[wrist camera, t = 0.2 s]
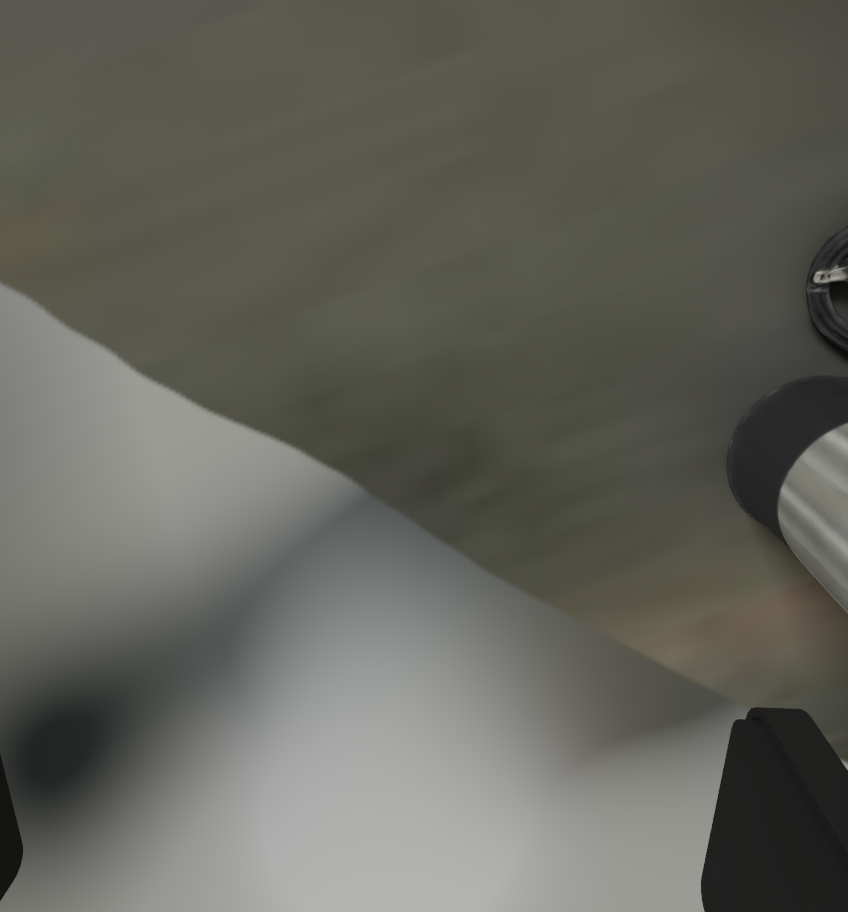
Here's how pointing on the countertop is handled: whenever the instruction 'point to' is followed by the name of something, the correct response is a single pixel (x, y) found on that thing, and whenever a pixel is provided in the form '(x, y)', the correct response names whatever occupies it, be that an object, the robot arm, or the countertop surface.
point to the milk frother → (803, 446)
